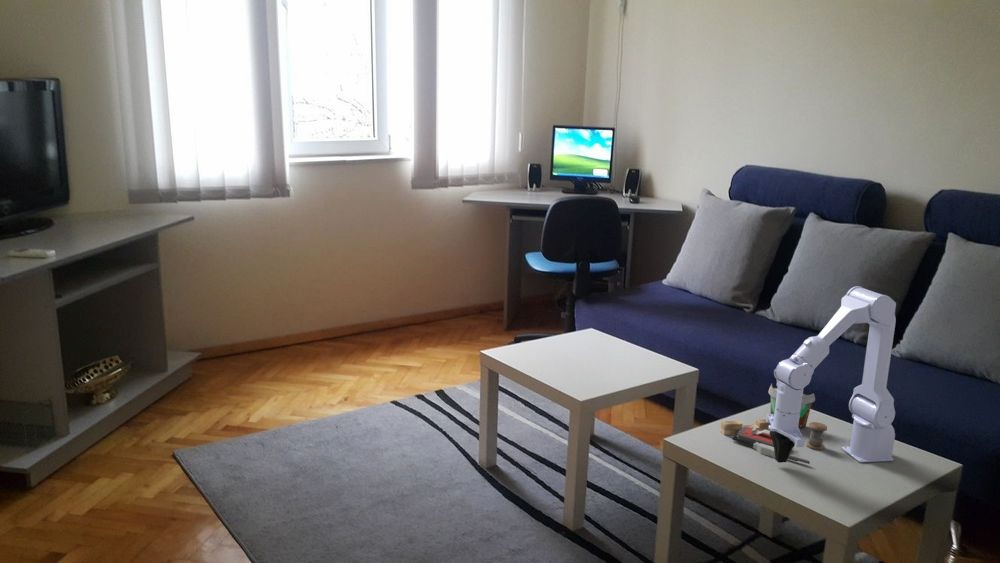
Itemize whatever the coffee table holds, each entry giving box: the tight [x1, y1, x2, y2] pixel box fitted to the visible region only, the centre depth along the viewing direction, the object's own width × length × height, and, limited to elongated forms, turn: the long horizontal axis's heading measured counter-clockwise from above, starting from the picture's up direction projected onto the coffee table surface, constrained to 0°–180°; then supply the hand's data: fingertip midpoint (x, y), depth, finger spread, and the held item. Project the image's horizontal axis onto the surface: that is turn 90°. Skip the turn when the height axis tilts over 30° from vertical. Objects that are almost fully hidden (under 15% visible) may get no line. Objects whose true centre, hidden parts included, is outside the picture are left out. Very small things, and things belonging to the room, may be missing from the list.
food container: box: [768, 383, 816, 430], centre depth 210 cm, size 12×6×10 cm, turn 55°
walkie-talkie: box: [731, 427, 811, 465], centre depth 196 cm, size 9×4×20 cm
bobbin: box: [805, 421, 828, 451], centre depth 198 cm, size 4×4×6 cm
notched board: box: [719, 418, 771, 436], centre depth 206 cm, size 15×2×3 cm, turn 100°
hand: (780, 461), depth 187 cm, fingers closed
